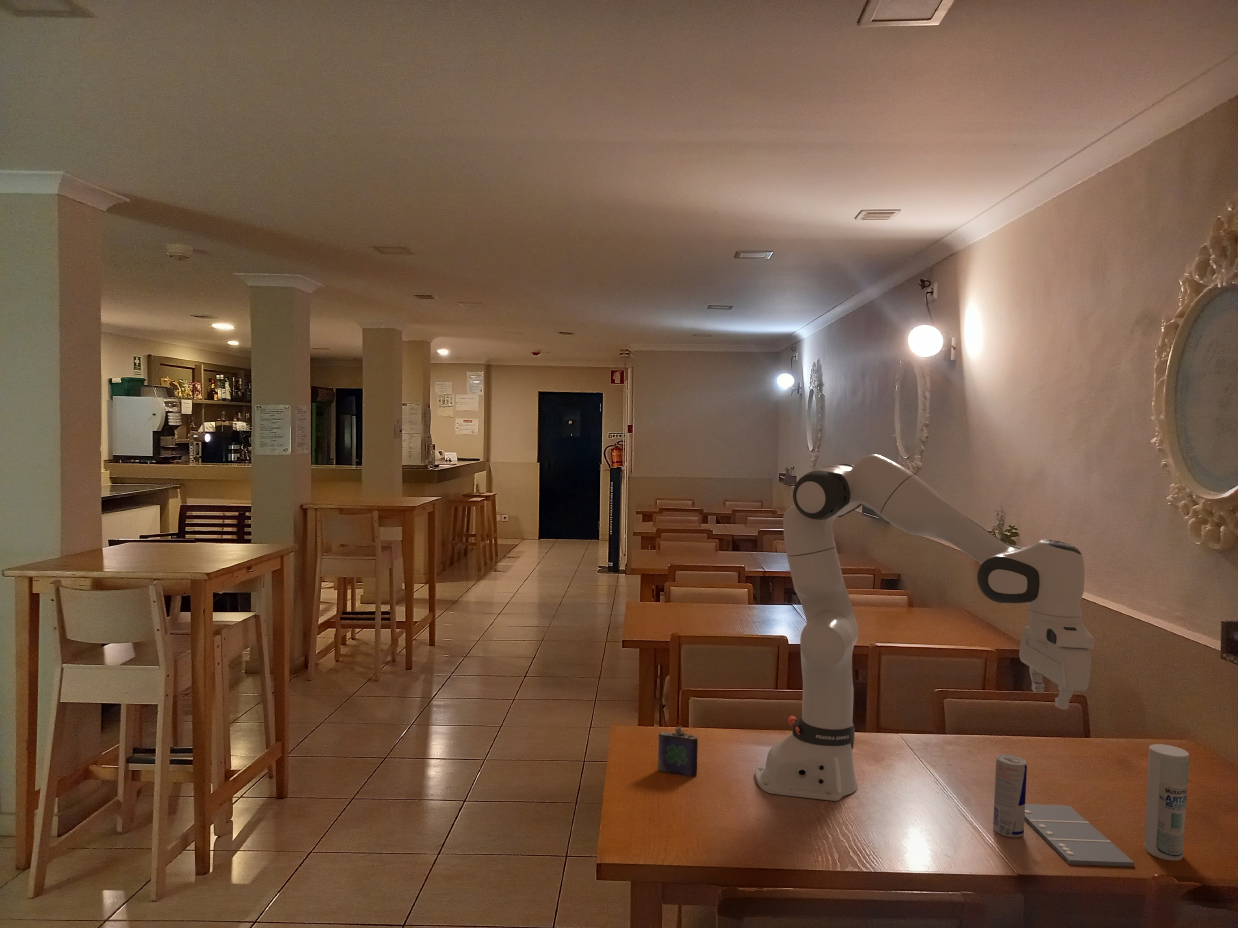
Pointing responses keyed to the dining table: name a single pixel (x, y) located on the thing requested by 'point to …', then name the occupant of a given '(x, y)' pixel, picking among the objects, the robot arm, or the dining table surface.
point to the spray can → (1166, 801)
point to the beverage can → (1010, 795)
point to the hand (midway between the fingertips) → (1049, 699)
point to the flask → (677, 753)
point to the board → (1073, 836)
